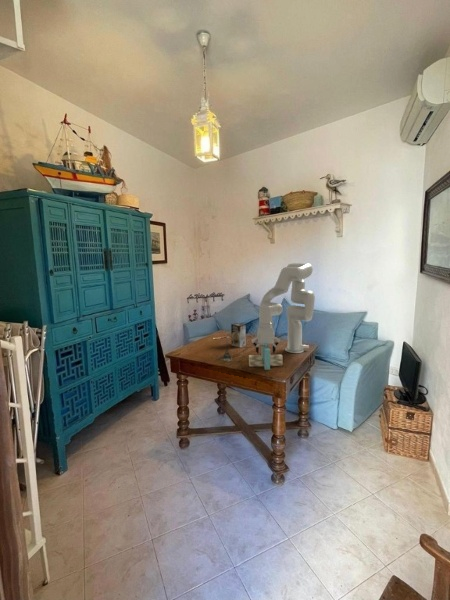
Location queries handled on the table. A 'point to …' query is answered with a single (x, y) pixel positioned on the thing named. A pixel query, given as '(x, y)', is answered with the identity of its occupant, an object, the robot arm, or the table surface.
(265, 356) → the cross plate
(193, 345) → the table surface
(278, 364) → the slotted board
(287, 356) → the table surface
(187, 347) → the table surface
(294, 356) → the table surface
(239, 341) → the coffee box
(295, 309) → the robot arm
